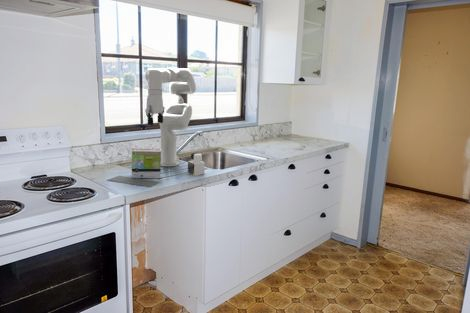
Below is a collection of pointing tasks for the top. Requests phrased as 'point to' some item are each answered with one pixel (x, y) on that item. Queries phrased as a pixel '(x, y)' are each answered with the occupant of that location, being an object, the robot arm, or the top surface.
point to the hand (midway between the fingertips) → (155, 123)
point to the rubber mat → (134, 181)
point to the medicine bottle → (196, 164)
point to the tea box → (146, 163)
